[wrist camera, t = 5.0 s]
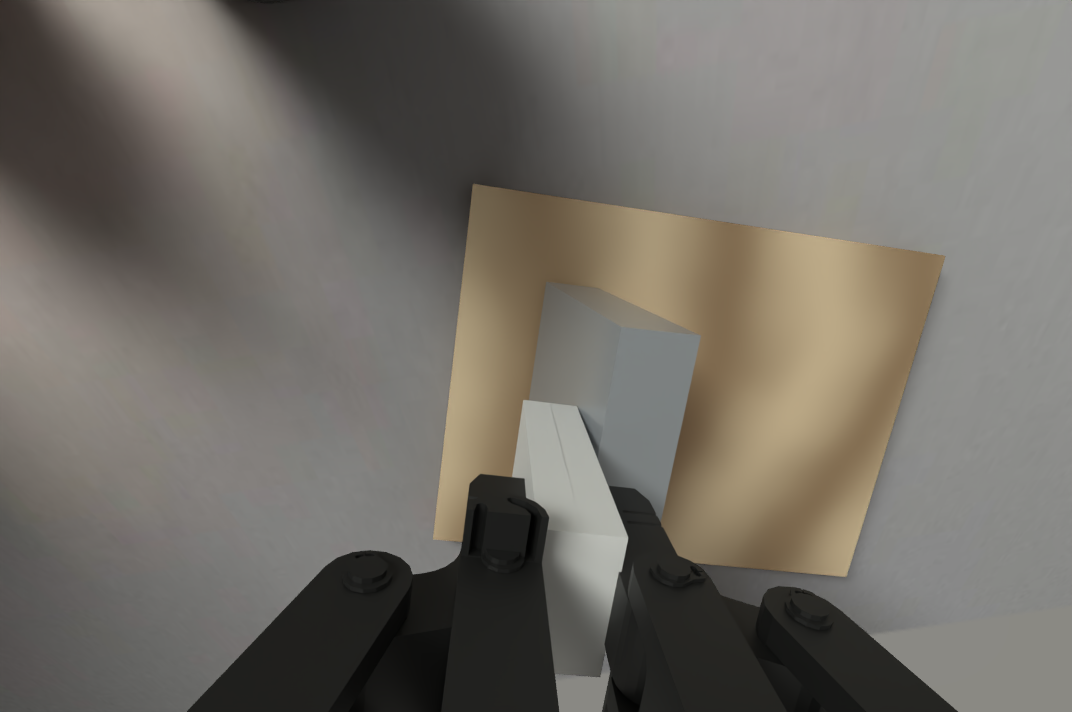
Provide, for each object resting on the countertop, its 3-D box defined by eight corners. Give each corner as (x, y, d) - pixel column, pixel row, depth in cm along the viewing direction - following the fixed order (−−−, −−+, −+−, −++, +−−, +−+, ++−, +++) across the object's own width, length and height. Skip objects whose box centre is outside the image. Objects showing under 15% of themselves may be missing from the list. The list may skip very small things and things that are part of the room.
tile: (516, 482, 22) (566, 627, 15) (546, 281, 20) (621, 326, 13) (569, 484, 23) (645, 625, 15) (603, 288, 21) (708, 336, 13)
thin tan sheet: (435, 526, 24) (433, 539, 23) (474, 185, 21) (472, 183, 20) (832, 563, 25) (846, 576, 24) (926, 254, 22) (945, 255, 21)
